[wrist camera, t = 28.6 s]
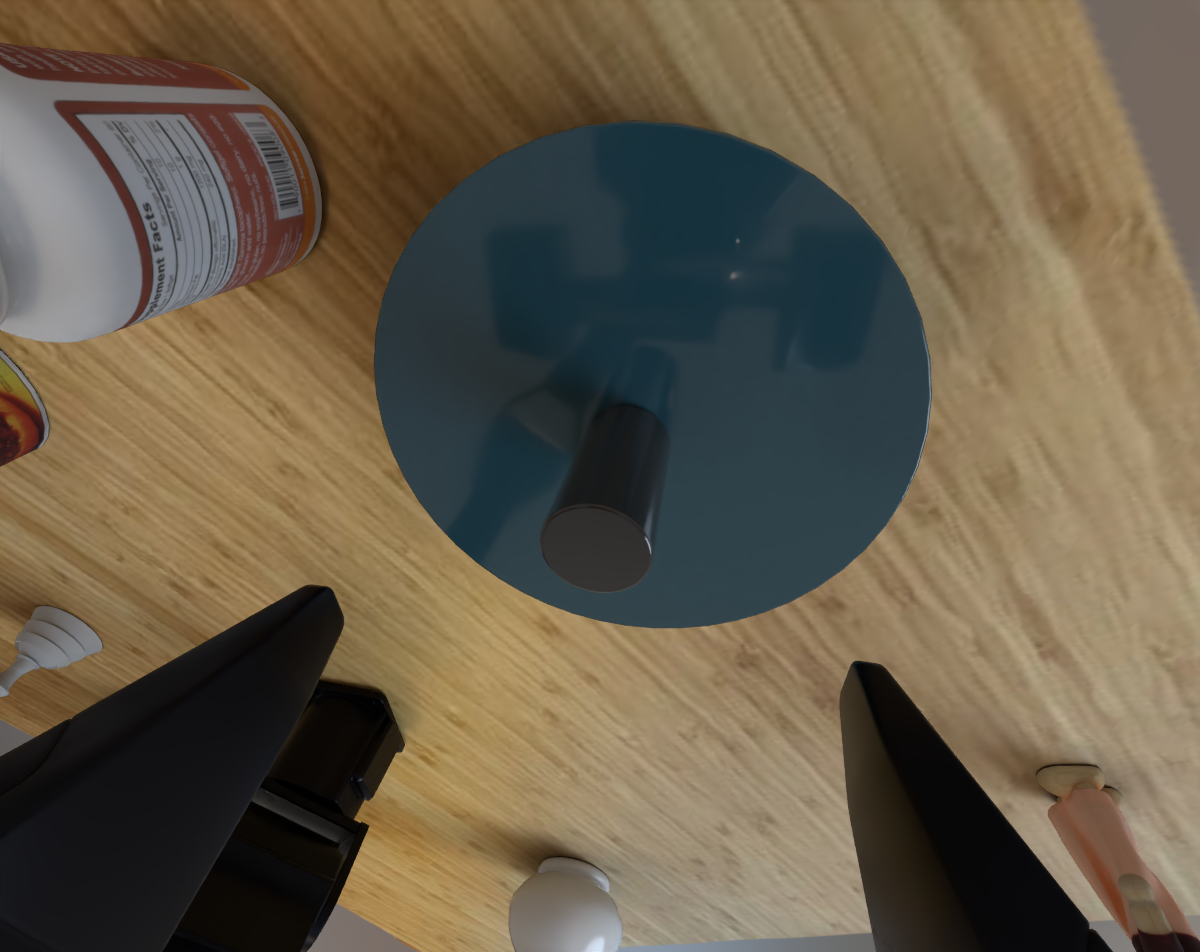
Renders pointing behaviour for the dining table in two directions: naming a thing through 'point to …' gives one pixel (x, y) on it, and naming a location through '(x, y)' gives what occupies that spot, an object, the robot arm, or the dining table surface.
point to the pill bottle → (139, 189)
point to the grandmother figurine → (1114, 859)
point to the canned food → (19, 414)
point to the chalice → (49, 644)
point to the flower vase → (565, 910)
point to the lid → (652, 374)
